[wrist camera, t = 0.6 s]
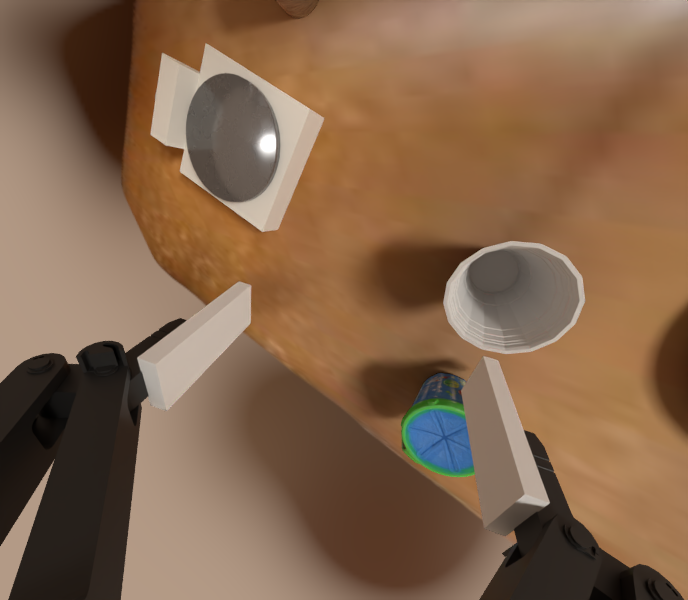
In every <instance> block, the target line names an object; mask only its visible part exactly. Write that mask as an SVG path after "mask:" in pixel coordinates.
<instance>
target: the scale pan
mask: <svg viewBox="0 0 688 600" xmlns="http://www.w3.org/2000/svg"><path fill="white" fill-rule="evenodd" d="M186 142H187V148H188V153H189V157H190V160H191V163H192V165H193V168H194V170H195V172H196V174H197V176H198V177H199V179H200V181H201V182H202V183H203V184H204V186H205V187H206V188H207V189H208V190H209V191H210V192H211V193H213V194H214V195H215V196H217V197H219V198H221V199H223V200H226V201H229V202H247V201H250V200H253V199H255V198H257V197H258V196H260V195H261V194H262V193H263V192H264V191H265V190H266V189H267V188H268V186H269V185H270V183H271V182H272V180H273V178H274V176H275V173H276V170H277V167H278V163H279V158H280V133H279V127H278V123H277V119H276V116H275V113H274V111H273V109H272V106H271V105H270V103H269V101H268V99H267V98H266V97H265V95H264V94H263V93H262V92H261V91H260V90H259V89H258V87H256V86H255V85H254V84H252V83H251V82H249V81H248V80H246V79H244V78H242V77H240V76H238V75H235V74H230V73H223V74H218V75H214V76H212V77H211V78H209V79H207V80H206V81H205V82H204V83H203V84H202V85H201V86H200V87H199V88H198V90H197V91H196V93H195V94H194V96H193V98H192V101H191V103H190V106H189V110H188V114H187V120H186Z"/></svg>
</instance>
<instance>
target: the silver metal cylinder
mask: <svg viewBox="0 0 688 600" xmlns="http://www.w3.org/2000/svg"><path fill="white" fill-rule="evenodd" d="M276 2H277V3H278V4H279V5H280V6H281V7H282V8H283V9H284V10H285V12H286V13H287V14H288V15H290V16H291V17H293V18H303V17H305V16H307V15H309V14H310V13H311V12H312V11H313V10H314V8H315V7H316V5H317V4H318V2H319V0H276Z"/></svg>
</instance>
